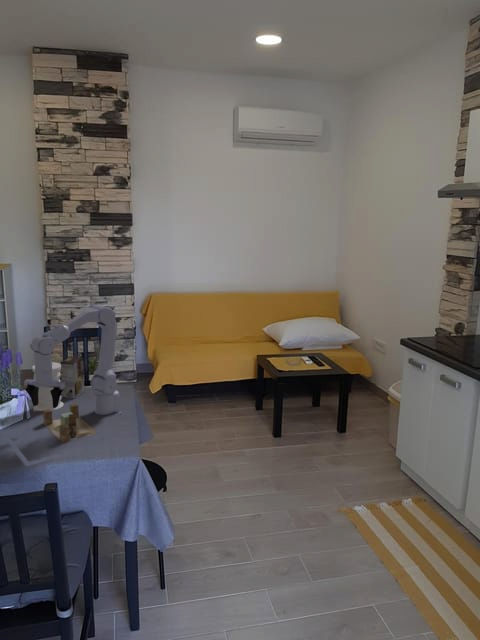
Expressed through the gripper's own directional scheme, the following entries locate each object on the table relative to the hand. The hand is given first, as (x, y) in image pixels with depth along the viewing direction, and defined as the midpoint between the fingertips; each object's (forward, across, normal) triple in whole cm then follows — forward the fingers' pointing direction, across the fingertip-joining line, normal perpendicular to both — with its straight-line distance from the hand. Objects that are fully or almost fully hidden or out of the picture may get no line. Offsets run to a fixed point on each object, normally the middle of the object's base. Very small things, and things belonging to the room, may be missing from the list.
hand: (45, 406), depth 178 cm
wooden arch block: (+9, +10, 0) cm, 13 cm away
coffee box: (+10, -10, +38) cm, 41 cm away
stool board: (+10, +7, +3) cm, 13 cm away
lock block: (+9, +5, +5) cm, 12 cm away
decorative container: (+10, -12, +21) cm, 26 cm away
